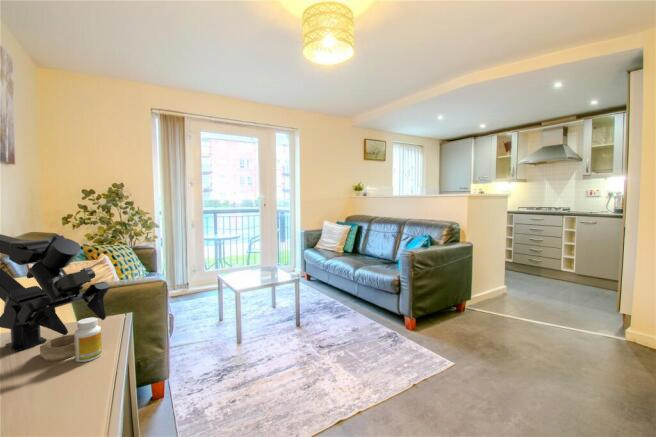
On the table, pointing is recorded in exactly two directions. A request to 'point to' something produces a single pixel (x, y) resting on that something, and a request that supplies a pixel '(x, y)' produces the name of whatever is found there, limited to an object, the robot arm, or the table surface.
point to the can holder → (58, 348)
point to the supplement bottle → (87, 340)
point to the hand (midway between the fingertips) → (86, 325)
